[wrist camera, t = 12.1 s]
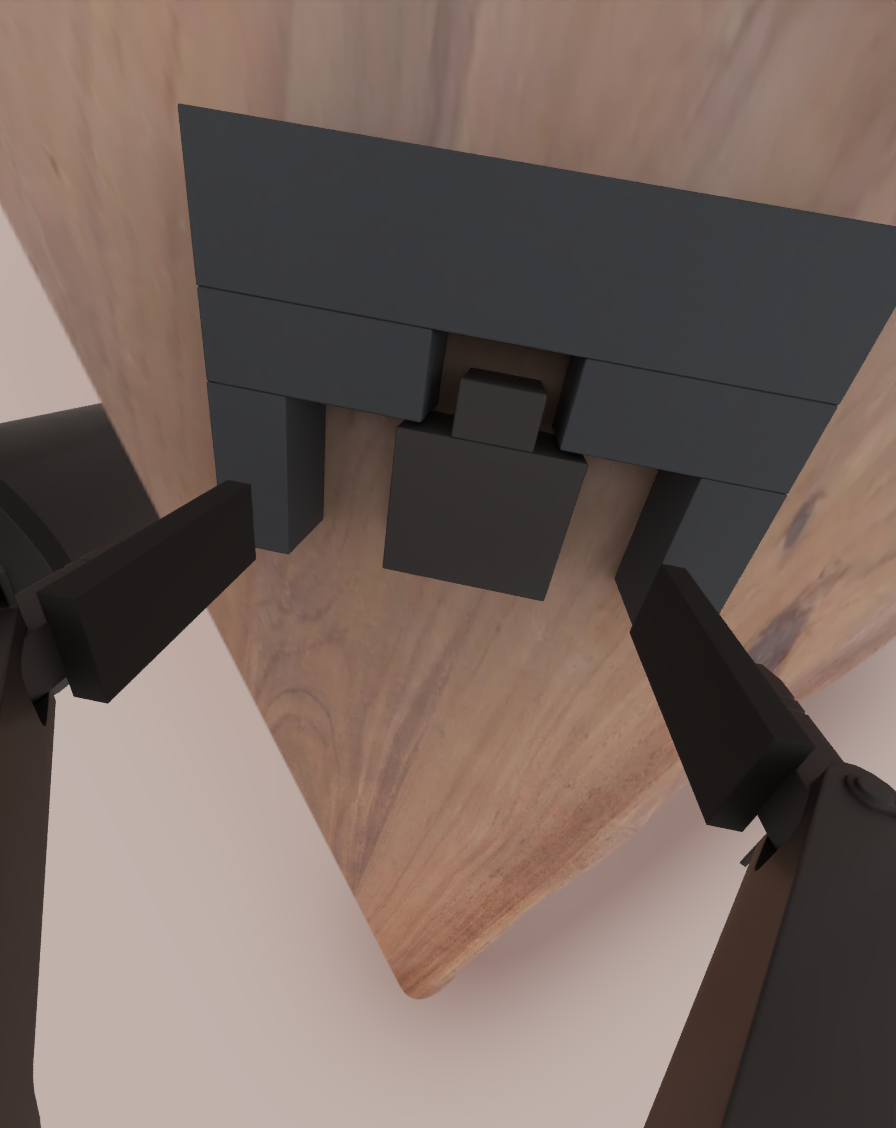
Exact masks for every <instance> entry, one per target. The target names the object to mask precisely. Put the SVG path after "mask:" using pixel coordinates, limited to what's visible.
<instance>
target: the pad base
mask: <svg viewBox="0 0 896 1128" xmlns="http://www.w3.org/2000/svg"><path fill="white" fill-rule="evenodd" d="M178 112H179V122H180V131H181V141H182V151H183V160H184V170H185V179H186V189H187V199H188V208H189V218H190V227H191V237H192V247H193V256H194V266H195V275H196V284H197V285H199V286H198V288H197V290H198V299H199V309H200V319H201V328H202V338H203V348H204V357H205V367H206V376H207V380H208V382H207V390H208V400H209V409H210V419H211V428H212V438H213V448H214V457H215V467H216V476H217V486H218V485H219V484H221V483H223V482H224V481H226V480H232V481H237V482H242V483H247V484H251V491H252V506H253V522H254V538H255V548H260V549H265V550H270V551H275V552H279V553H284V554H290V553H291V552H292V551H293V550H294V548H295V547H296V546H297V545H298V544H299V543H300V542H301V541H302V540H303V539H304V538H305V537H306V536H307V535H308V534H309V533H310V532H311V531H312V530H313V529H314V528H315V527H316V526H317V525H318V524H319V523H320V522H321V521H322V519H323V500H324V453H325V406H326V404H328V405H333V406H338V407H343V408H348V409H353V410H359V411H364V412H369V413H374V414H379V415H384V416H389V417H394V418H400V419H405V420H410V421H415V422H421V421H422V420H423V419H424V418H425V417H426V416H427V415H428V413H429V412H430V411H431V410H432V409H433V408H434V407H435V406H436V405H437V403H438V399H439V391H440V384H441V377H442V370H443V363H444V356H445V349H446V342H447V335H448V332H450V333H455V334H461V335H466V336H471V337H477V338H482V339H487V340H493V341H498V342H503V343H509V344H514V345H519V346H525V347H530V348H535V349H541V350H546V351H551V352H557V353H562V354H567V355H571V357H570V361H569V365H568V368H567V372H566V376H565V380H564V383H563V387H562V391H561V394H560V398H559V402H558V405H557V409H556V413H555V416H554V420H553V424H552V427H553V430H554V433H555V436H556V439H557V442H558V445H559V448H560V450H563V451H568V452H573V453H578V454H583V455H588V456H593V457H598V458H604V459H609V460H614V461H619V462H624V463H629V464H634V465H639V466H644V467H650V468H655V469H659V472H658V474H657V477H656V479H655V481H654V484H653V486H652V489H651V491H650V494H649V496H648V499H647V501H646V503H645V506H644V508H643V511H642V513H641V516H640V518H639V521H638V523H637V525H636V528H635V530H634V533H633V535H632V538H631V540H630V542H629V545H628V547H627V550H626V552H625V555H624V557H623V560H622V562H621V564H620V567H619V569H618V572H617V574H616V577H615V581H616V584H617V586H618V589H619V592H620V594H621V597H622V599H623V602H624V605H625V607H626V610H627V612H628V615H629V618H630V620H631V623H632V626H633V624H634V621H635V619H636V617H637V615H638V613H639V611H640V608H641V606H642V604H643V602H644V600H645V598H646V595H647V593H648V591H649V589H650V587H651V585H652V582H653V580H654V578H655V576H656V574H657V572H658V569H659V567H660V565H661V563H662V564H667V565H672V566H677V567H682V568H686V569H687V571H688V572H689V573H690V575H691V576H692V578H693V579H694V580H695V582H696V583H697V584H698V586H699V587H700V589H701V590H702V591H703V593H704V594H705V595H706V597H707V598H708V600H709V601H710V602H711V604H712V605H713V606H714V608H715V609H716V611H717V612H718V613H720V611H721V610H722V608H723V606H724V604H725V603H726V601H727V599H728V597H729V596H730V594H731V592H732V591H733V589H734V587H735V585H736V584H737V582H738V580H739V578H740V577H741V575H742V573H743V571H744V570H745V568H746V566H747V564H748V563H749V561H750V559H751V557H752V556H753V554H754V552H755V551H756V549H757V547H758V545H759V544H760V542H761V540H762V538H763V537H764V535H765V533H766V531H767V530H768V528H769V526H770V524H771V523H772V521H773V519H774V518H775V516H776V514H777V512H778V511H779V509H780V507H781V505H782V504H783V502H784V500H785V498H786V497H787V495H786V494H788V493H789V491H790V489H791V487H792V486H793V484H794V482H795V480H796V479H797V477H798V475H799V473H800V472H801V470H802V468H803V466H804V465H805V463H806V461H807V459H808V458H809V456H810V454H811V452H812V451H813V449H814V447H815V446H816V444H817V442H818V440H819V439H820V437H821V435H822V433H823V432H824V430H825V428H826V426H827V425H828V423H829V421H830V419H831V418H832V416H833V414H834V412H835V411H836V409H837V405H839V404H840V403H841V401H842V399H843V397H844V396H845V394H846V392H847V390H848V389H849V387H850V385H851V383H852V382H853V380H854V378H855V376H856V375H857V373H858V371H859V370H860V368H861V366H862V364H863V363H864V361H865V359H866V357H867V356H868V354H869V352H870V350H871V349H872V347H873V345H874V343H875V342H876V340H877V338H878V336H879V335H880V333H881V331H882V330H883V328H884V326H885V324H886V323H887V321H888V319H889V317H890V316H891V314H892V312H893V310H894V309H895V307H896V226H890V225H884V224H878V223H872V222H867V221H861V220H855V219H849V218H843V217H837V216H832V215H826V214H820V213H814V212H808V211H802V210H797V209H791V208H785V207H779V206H773V205H767V204H762V203H756V202H750V201H744V200H738V199H732V198H727V197H721V196H715V195H709V194H703V193H698V192H692V191H686V190H680V189H674V188H668V187H663V186H657V185H651V184H645V183H639V182H633V181H628V180H622V179H616V178H610V177H604V176H598V175H593V174H587V173H581V172H575V171H569V170H563V169H558V168H552V167H546V166H540V165H534V164H529V163H523V162H517V161H511V160H505V159H499V158H494V157H488V156H482V155H476V154H470V153H464V152H459V151H453V150H447V149H441V148H435V147H429V146H424V145H418V144H412V143H406V142H400V141H394V140H389V139H383V138H377V137H371V136H365V135H360V134H354V133H348V132H342V131H336V130H330V129H325V128H319V127H313V126H307V125H301V124H295V123H290V122H284V121H278V120H272V119H266V118H260V117H255V116H249V115H243V114H237V113H231V112H225V111H220V110H214V109H208V108H202V107H196V106H191V105H185V104H178Z"/></svg>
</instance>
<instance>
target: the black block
mask: <svg viewBox="0 0 896 1128" xmlns="http://www.w3.org/2000/svg"><path fill="white" fill-rule="evenodd" d="M546 400H547V394H546V392H545V389H544V387H543V385H542V382H541V381H539V380H534V379H529V378H524V377H518V376H513V375H508V374H502V373H497V372H492V371H487V370H481V369H476V368H470V370H469V371H468V372H467V373H466V374H465V375H464V376H463V377H462V378H461V380H460V383H459V390H458V396H457V402H456V408H455V414H454V415H451V414H446V413H441V412H435V411H430V412H429V413H428V415H427V416H426V417H425V418H424V419H423V420H422V421H421V422H415V421H410V420H404V421H403V422H402V423H401V424H400V425H399V426H398V427H397V428H396V438H395V448H394V458H393V468H392V478H391V488H390V498H389V508H388V518H387V528H386V538H385V548H384V558H383V568H385V569H390V570H395V571H400V572H405V573H409V574H414V575H419V576H424V577H429V578H433V579H438V580H443V581H448V582H453V583H458V584H462V585H467V586H472V587H477V588H482V589H486V590H491V591H496V592H501V593H506V594H511V595H515V596H520V597H525V598H530V599H535V600H540V601H544V599H545V596H546V593H547V590H548V587H549V584H550V581H551V578H552V575H553V571H554V568H555V565H556V562H557V559H558V556H559V553H560V550H561V547H562V544H563V541H564V538H565V534H566V531H567V528H568V525H569V522H570V519H571V516H572V513H573V510H574V507H575V504H576V501H577V498H578V494H579V491H580V488H581V485H582V482H583V479H584V476H585V473H586V470H587V467H588V464H587V462H586V460H585V458H584V456H583V454H578V453H573V452H568V451H563V450H560V448H559V445H558V442H557V439H556V436H555V435H554V434H549V433H544V432H539V427H540V424H541V420H542V416H543V412H544V408H545V404H546Z"/></svg>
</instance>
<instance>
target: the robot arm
mask: <svg viewBox="0 0 896 1128" xmlns="http://www.w3.org/2000/svg"><path fill="white" fill-rule="evenodd" d="M255 560H256V553H255V538H254V522H253V506H252V491H251V484H247V483H242V482H237V481H232V480H226V481H224V482H223V483H221V484H219V485H218V486H216V487H214V488H212V489H211V490H209V491H207V492H206V493H204V494H202V495H201V496H199V497H197V498H195V499H194V500H192V501H190V502H189V503H187V504H185V505H184V506H182V507H180V508H178V509H177V510H175V511H173V512H172V513H170V514H168V515H166V516H165V517H163V518H161V519H160V520H158V521H156V522H155V523H153V524H151V525H149V526H148V527H146V528H144V529H143V530H141V531H139V532H138V533H136V534H134V535H132V536H131V537H129V538H127V539H126V540H124V541H122V540H120V541H116V542H113V543H110V544H107V545H104V546H101V547H97V548H96V549H94V550H92V551H90V552H88V553H87V554H85V555H83V556H81V557H80V558H79V560H74V561H73V562H71V563H69V564H67V565H65V566H64V568H63V569H58V570H57V571H55V572H53V573H51V574H50V575H48V576H46V577H44V578H43V579H41V580H39V581H37V582H35V583H34V584H32V585H30V586H28V587H27V588H25V589H23V590H21V591H20V592H18V593H16V594H14V593H13V591H12V588H11V585H10V583H9V580H8V578H7V575H6V573H5V570H4V568H3V565H1V564H0V1128H41V1125H40V1116H39V1111H38V1108H37V1102H36V1098H35V1094H34V1084H33V1057H34V1043H35V1027H36V1010H37V994H38V977H39V962H40V946H41V930H42V913H43V898H44V881H45V864H46V849H47V832H48V817H49V800H50V785H51V768H52V752H53V735H54V719H55V704H56V701H55V698H54V695H53V692H52V688H53V687H54V686H56V685H57V684H58V683H59V682H61V681H62V680H63V679H64V678H65V677H67V679H68V682H69V685H70V687H71V690H72V693H73V696H74V697H79V698H83V699H89V700H93V701H98V702H103V703H109V702H110V701H111V700H112V699H113V698H114V697H115V696H116V695H117V694H118V693H119V692H120V691H121V690H122V689H123V688H124V687H125V686H126V685H127V684H128V683H129V682H131V680H132V679H133V678H135V677H136V676H137V674H139V673H140V672H141V671H142V670H143V669H144V668H145V667H146V666H147V665H148V664H149V663H150V662H151V661H152V660H153V659H154V658H155V657H156V656H157V655H158V654H159V653H160V652H161V651H162V650H163V649H164V648H165V647H166V646H167V645H168V644H169V643H170V642H171V641H173V640H174V639H175V638H176V637H177V636H178V635H179V634H180V633H181V632H182V631H183V629H185V628H186V627H187V626H188V625H189V624H190V623H191V622H192V621H193V620H194V619H195V618H196V617H197V616H198V615H199V614H200V613H201V612H202V611H203V610H204V609H205V608H206V607H207V606H208V605H209V604H210V603H211V602H212V601H214V600H215V599H216V598H217V597H218V596H219V595H220V594H221V593H222V592H223V591H224V590H225V589H226V588H227V587H228V586H229V585H230V584H231V583H232V582H233V581H234V580H235V579H236V578H237V577H238V576H239V575H240V574H241V573H242V572H243V571H244V570H245V569H246V568H247V567H248V566H249V565H250V564H251V563H252V562H253V561H255ZM630 635H631V637H632V640H633V642H634V645H635V647H636V650H637V652H638V655H639V657H640V660H641V662H642V665H643V667H644V670H645V672H646V675H647V677H648V680H649V682H650V685H651V687H652V690H653V692H654V695H655V697H656V700H657V702H658V705H659V707H660V710H661V712H662V715H663V717H664V720H665V722H666V725H667V727H668V730H669V732H670V735H671V737H672V740H673V742H674V745H675V747H676V750H677V752H678V755H679V757H680V760H681V762H682V765H683V767H684V770H685V772H686V775H687V777H688V780H689V782H690V785H691V787H692V789H693V792H694V795H695V797H696V800H697V802H698V805H699V807H700V810H701V812H702V815H703V817H704V819H705V822H706V824H707V825H711V826H716V827H720V828H726V829H730V830H736V831H740V832H743V831H744V829H745V828H746V827H747V826H748V825H749V824H750V822H751V821H752V820H753V819H754V818H755V817H756V816H757V815H758V817H759V819H760V821H761V823H762V825H763V827H764V828H765V831H766V832H767V833H766V835H765V836H764V837H763V838H762V839H761V840H760V841H759V842H758V843H757V845H756V846H755V847H754V848H753V849H752V850H751V851H750V852H749V853H748V854H747V855H746V856H745V857H744V858H743V860H742V861H741V862H740V863H741V864H742V865H744V866H745V867H746V866H747V865H748V864H749V866H748V868H747V871H746V874H745V876H744V878H743V881H742V883H741V886H740V889H739V891H738V893H737V896H736V898H735V901H734V904H733V906H732V908H731V911H730V914H729V916H728V918H727V921H726V924H725V926H724V928H723V931H722V933H721V936H720V938H719V941H718V944H717V946H716V948H715V951H714V953H713V956H712V958H711V961H710V964H709V966H708V968H707V971H706V973H705V976H704V978H703V981H702V983H701V986H700V988H699V991H698V994H697V996H696V998H695V1001H694V1003H693V1006H692V1008H691V1011H690V1013H689V1016H688V1018H687V1021H686V1023H685V1026H684V1028H683V1031H682V1033H681V1036H680V1039H679V1041H678V1044H677V1046H676V1048H675V1051H674V1053H673V1056H672V1058H671V1061H670V1064H669V1066H668V1068H667V1071H666V1073H665V1076H664V1078H663V1081H662V1083H661V1086H660V1088H659V1091H658V1093H657V1096H656V1098H655V1101H654V1103H653V1106H652V1108H651V1111H650V1113H649V1116H648V1119H647V1121H646V1123H645V1126H644V1128H896V791H895V790H894V789H893V788H891V787H890V786H889V785H888V784H887V783H885V782H884V781H882V780H881V779H879V778H878V777H877V776H875V775H874V774H872V773H870V772H868V771H866V770H864V769H862V768H860V767H858V766H856V765H852V764H848V763H845V762H843V760H842V759H841V758H840V757H839V755H838V754H837V752H836V751H835V750H834V749H833V747H832V746H831V745H830V743H829V742H828V741H827V740H826V738H825V737H824V736H823V734H822V733H821V732H820V730H819V729H818V728H817V726H816V725H815V724H814V722H813V721H812V720H811V719H810V717H809V716H808V715H805V711H804V710H803V708H802V707H801V706H800V704H799V703H798V702H797V701H795V700H794V696H793V695H792V694H791V692H790V691H789V690H788V689H787V687H786V686H785V685H784V683H783V682H782V681H781V680H780V679H779V678H778V677H776V676H775V675H774V674H773V673H772V672H770V671H769V670H768V669H767V668H766V667H764V666H763V665H761V664H756V663H754V661H753V660H752V659H751V657H750V656H749V655H748V653H747V652H746V650H745V649H744V648H743V646H742V645H741V644H740V642H739V641H738V639H737V638H736V637H735V635H734V634H733V633H732V631H731V630H730V628H729V627H728V626H727V624H726V623H725V622H724V620H723V619H722V617H721V616H720V615H719V613H718V612H717V611H716V609H715V608H714V606H713V605H712V604H711V602H710V601H709V600H708V598H707V597H706V595H705V594H704V593H703V591H702V590H701V589H700V587H699V586H698V584H697V583H696V582H695V580H694V579H693V578H692V576H691V575H690V573H689V572H688V571H687V569H686V568H682V567H677V566H672V565H667V564H662V563H661V565H660V567H659V569H658V572H657V574H656V576H655V578H654V580H653V582H652V585H651V587H650V589H649V591H648V593H647V595H646V598H645V600H644V602H643V604H642V606H641V608H640V611H639V613H638V615H637V617H636V619H635V621H634V624H633V626H632V628H631V630H630Z"/></svg>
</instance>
